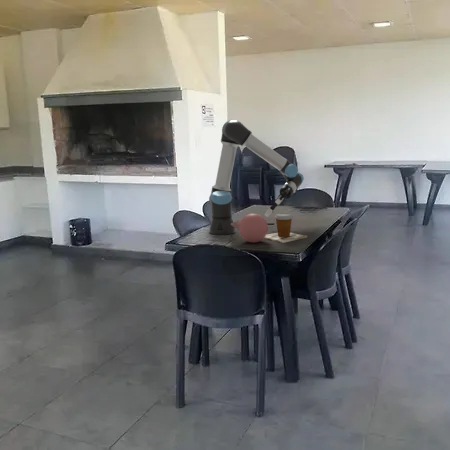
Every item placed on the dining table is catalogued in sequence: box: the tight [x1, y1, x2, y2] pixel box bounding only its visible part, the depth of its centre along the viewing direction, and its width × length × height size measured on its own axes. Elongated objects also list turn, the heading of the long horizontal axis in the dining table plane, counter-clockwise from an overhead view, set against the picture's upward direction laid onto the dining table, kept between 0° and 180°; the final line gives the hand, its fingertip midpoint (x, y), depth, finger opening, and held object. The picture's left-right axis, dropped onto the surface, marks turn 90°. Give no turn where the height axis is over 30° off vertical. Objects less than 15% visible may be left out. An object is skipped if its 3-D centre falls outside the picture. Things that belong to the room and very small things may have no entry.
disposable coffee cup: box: [274, 212, 293, 237], centre depth 286 cm, size 10×10×12 cm
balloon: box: [231, 212, 269, 244], centre depth 278 cm, size 15×20×15 cm
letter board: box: [263, 231, 308, 244], centre depth 287 cm, size 18×18×1 cm
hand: (271, 209), depth 298 cm, fingers open, 13 cm apart
